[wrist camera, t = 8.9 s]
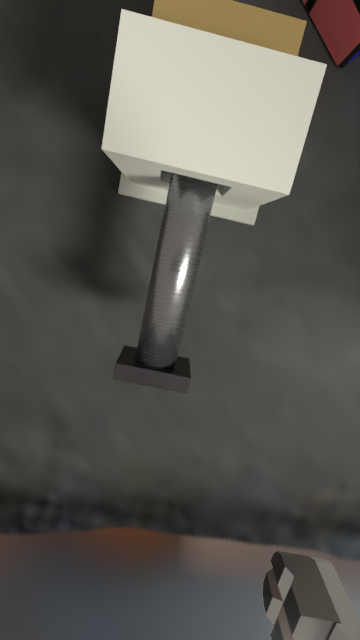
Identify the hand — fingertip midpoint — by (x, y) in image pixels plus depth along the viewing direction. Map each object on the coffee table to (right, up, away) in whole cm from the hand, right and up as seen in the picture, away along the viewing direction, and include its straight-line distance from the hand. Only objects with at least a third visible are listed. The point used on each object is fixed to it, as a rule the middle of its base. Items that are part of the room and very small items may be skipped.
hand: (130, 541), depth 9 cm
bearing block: (+3, +22, +18) cm, 28 cm away
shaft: (+1, +11, +14) cm, 18 cm away
